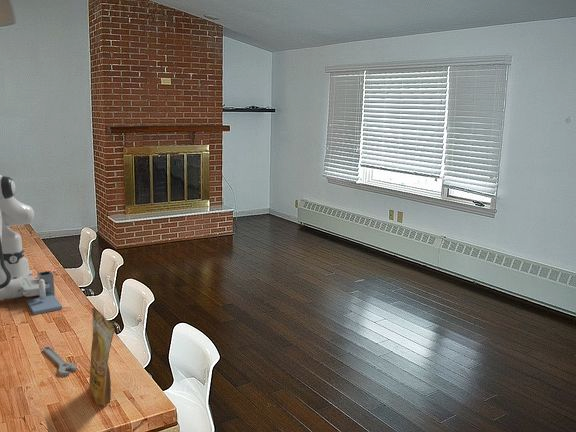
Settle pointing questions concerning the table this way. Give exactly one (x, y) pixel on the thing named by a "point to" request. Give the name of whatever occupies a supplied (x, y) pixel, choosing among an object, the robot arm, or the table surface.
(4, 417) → the table surface
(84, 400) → the table surface
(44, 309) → the shaft base
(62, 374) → the adjustable wrench
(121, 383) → the table surface
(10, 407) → the table surface
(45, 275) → the steel collar
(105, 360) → the pancake mix bag
